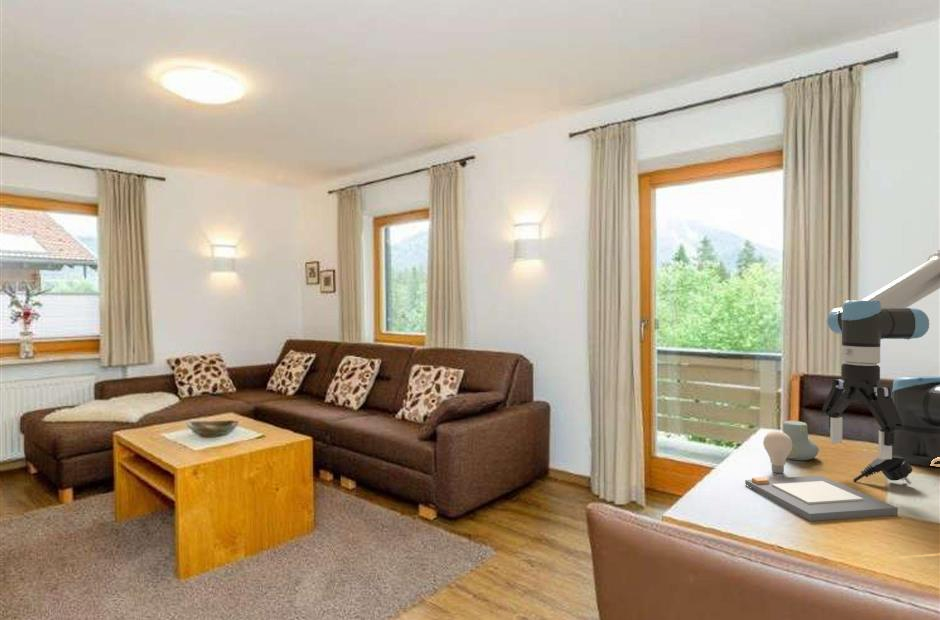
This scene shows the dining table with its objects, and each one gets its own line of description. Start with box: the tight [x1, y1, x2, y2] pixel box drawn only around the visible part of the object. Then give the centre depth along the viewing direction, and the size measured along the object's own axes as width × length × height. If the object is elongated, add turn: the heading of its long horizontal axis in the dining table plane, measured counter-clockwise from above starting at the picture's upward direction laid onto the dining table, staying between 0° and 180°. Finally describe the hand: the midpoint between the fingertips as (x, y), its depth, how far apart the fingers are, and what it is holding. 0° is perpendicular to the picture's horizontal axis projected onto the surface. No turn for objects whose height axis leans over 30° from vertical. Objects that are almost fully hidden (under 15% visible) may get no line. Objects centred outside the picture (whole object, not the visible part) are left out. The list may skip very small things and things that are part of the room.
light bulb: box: [762, 430, 792, 474], centre depth 133 cm, size 7×7×11 cm
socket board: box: [744, 474, 899, 522], centre depth 116 cm, size 20×20×2 cm
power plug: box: [852, 455, 913, 485], centre depth 125 cm, size 6×8×12 cm
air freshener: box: [782, 420, 820, 461], centre depth 146 cm, size 11×8×10 cm
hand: (859, 450), depth 126 cm, fingers open, 13 cm apart
